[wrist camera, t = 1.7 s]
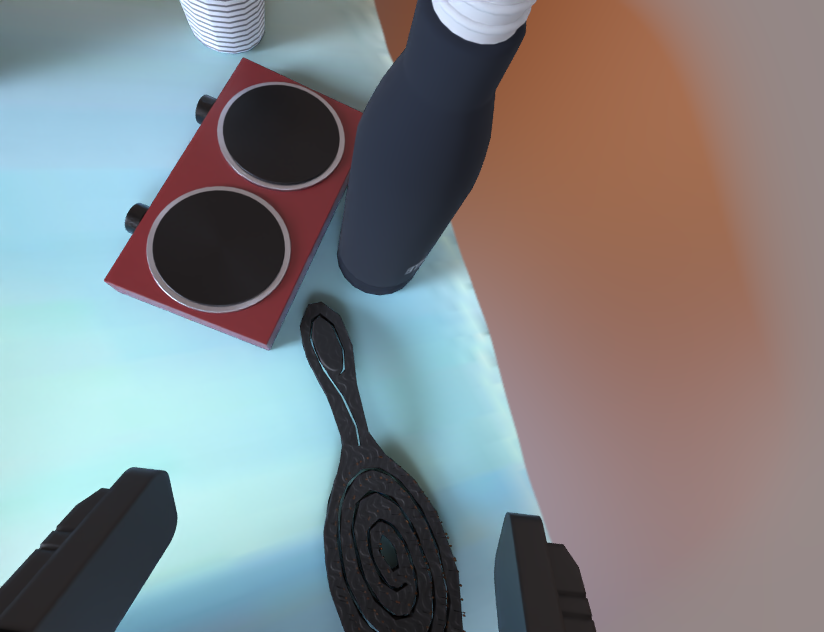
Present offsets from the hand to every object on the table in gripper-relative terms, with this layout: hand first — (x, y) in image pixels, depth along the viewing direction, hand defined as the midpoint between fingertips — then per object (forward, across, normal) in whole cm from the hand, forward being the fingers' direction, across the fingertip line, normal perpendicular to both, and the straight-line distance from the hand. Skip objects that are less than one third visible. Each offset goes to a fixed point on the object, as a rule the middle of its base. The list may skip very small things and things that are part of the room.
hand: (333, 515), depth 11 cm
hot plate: (+27, +12, 0) cm, 29 cm away
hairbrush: (+16, +2, +15) cm, 22 cm away
